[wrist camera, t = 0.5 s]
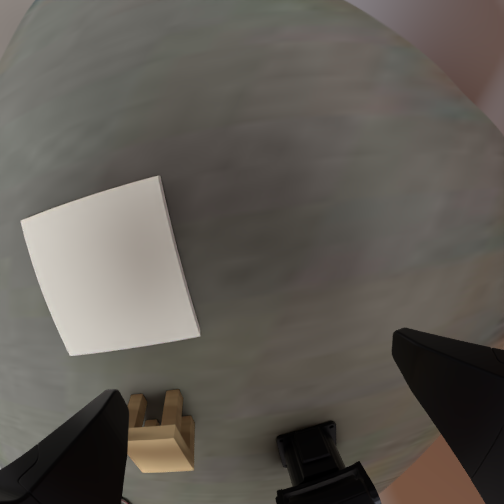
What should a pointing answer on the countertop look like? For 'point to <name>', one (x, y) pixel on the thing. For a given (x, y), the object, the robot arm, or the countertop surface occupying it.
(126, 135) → the countertop surface
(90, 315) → the board
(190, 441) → the mini stool
